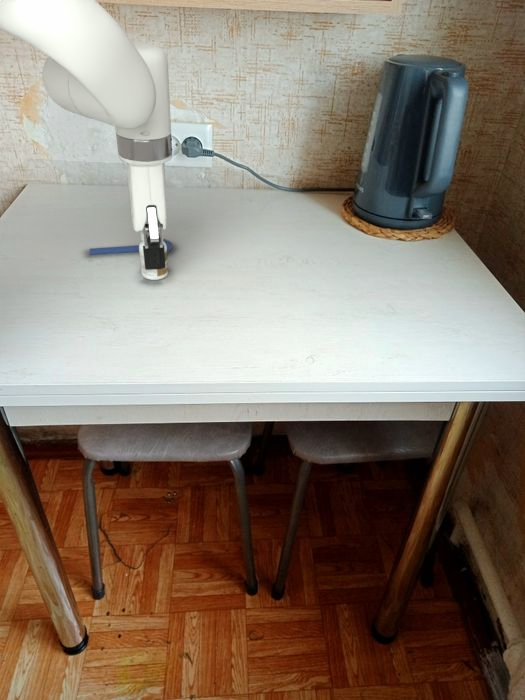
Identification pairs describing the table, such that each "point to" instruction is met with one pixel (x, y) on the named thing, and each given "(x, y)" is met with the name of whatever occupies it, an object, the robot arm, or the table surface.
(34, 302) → the table surface
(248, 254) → the table surface
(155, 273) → the pill bottle
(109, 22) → the robot arm
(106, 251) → the spoon
